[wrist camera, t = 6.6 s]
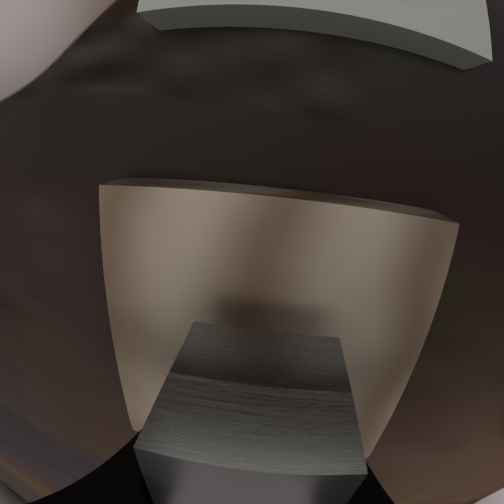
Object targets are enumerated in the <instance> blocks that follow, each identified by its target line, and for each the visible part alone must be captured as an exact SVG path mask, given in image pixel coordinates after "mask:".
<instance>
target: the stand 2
mask: <svg viewBox="0 0 504 504" xmlns="http://www.w3.org/2000/svg"><path fill="white" fill-rule="evenodd" d="M99 204H100V229H101V246H102V259H103V270H104V280H105V289H106V297H107V305H108V312H109V319H110V326H111V332H112V338H113V344H114V350H115V355H116V360H117V365H118V370H119V375H120V380H121V384H122V389H123V393H124V397H125V402H126V406H127V410H128V414H129V417H130V421H131V425H132V429H133V430H135V431H138V432H139V431H140V430H141V429H142V428H143V426H144V423H145V421H146V419H147V417H148V415H149V413H150V411H151V409H152V407H153V404H154V402H155V400H156V398H157V396H158V394H159V392H160V390H161V388H162V386H163V384H164V382H165V379H166V377H167V375H168V373H169V371H170V369H171V367H172V365H173V363H174V361H175V359H176V357H177V355H178V353H179V351H180V349H181V347H182V345H183V342H184V340H185V338H186V336H187V334H188V332H189V330H190V328H191V326H192V324H193V322H201V323H208V324H215V325H222V326H230V327H237V328H245V329H254V330H262V331H271V332H281V333H291V334H302V335H313V336H325V337H339V339H340V343H341V347H342V351H343V356H344V360H345V364H346V368H347V373H348V377H349V381H350V386H351V390H352V395H353V400H354V404H355V409H356V414H357V419H358V423H359V428H360V434H361V439H362V444H363V449H364V455H365V458H368V457H369V455H370V454H371V452H372V450H373V448H374V447H375V445H376V443H377V441H378V440H379V438H380V436H381V434H382V433H383V431H384V429H385V427H386V425H387V423H388V421H389V419H390V418H391V416H392V414H393V412H394V410H395V408H396V406H397V404H398V402H399V400H400V398H401V395H402V393H403V391H404V389H405V387H406V385H407V383H408V380H409V378H410V376H411V374H412V371H413V369H414V367H415V364H416V362H417V360H418V357H419V355H420V352H421V350H422V347H423V345H424V342H425V340H426V337H427V334H428V332H429V329H430V326H431V323H432V320H433V318H434V315H435V312H436V309H437V306H438V303H439V300H440V297H441V293H442V290H443V287H444V283H445V280H446V277H447V273H448V269H449V266H450V262H451V258H452V254H453V250H454V246H455V242H456V238H457V233H458V229H459V223H457V222H456V221H454V220H452V219H450V218H448V217H446V216H444V215H442V214H440V213H438V212H436V211H434V210H430V209H425V208H419V207H414V206H408V205H402V204H396V203H390V202H384V201H377V200H371V199H364V198H357V197H350V196H343V195H336V194H328V193H320V192H312V191H304V190H295V189H286V188H277V187H267V186H256V185H246V184H234V183H222V182H208V181H193V180H177V179H157V178H132V177H127V178H123V179H119V180H115V181H112V182H108V183H104V184H101V185H99Z"/></svg>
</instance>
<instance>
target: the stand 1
mask: <svg viewBox="0 0 504 504" xmlns="http://www.w3.org/2000/svg"><path fill="white" fill-rule="evenodd" d="M137 13H138V14H139V15H141V16H142V17H143V18H145V19H146V20H147V21H148V22H150V23H151V24H152V25H153V26H155V27H156V28H157V29H158V30H169V29H182V28H200V27H257V28H275V29H288V30H298V31H307V32H315V33H322V34H329V35H336V36H342V37H347V38H353V39H358V40H363V41H368V42H372V43H377V44H381V45H385V46H389V47H393V48H397V49H401V50H404V51H408V52H411V53H415V54H418V55H422V56H425V57H428V58H431V59H434V60H437V61H440V62H443V63H446V64H449V65H451V66H454V67H457V68H459V69H462V70H466V69H469V68H472V67H475V66H478V65H481V64H484V63H488V62H491V61H492V48H491V37H490V27H489V19H488V12H487V6H486V0H139V3H138V8H137Z"/></svg>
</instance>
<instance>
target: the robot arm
mask: <svg viewBox="0 0 504 504" xmlns="http://www.w3.org/2000/svg"><path fill="white" fill-rule="evenodd" d="M141 430H142V429H141ZM141 430H140V431H139V432H138V433H137V434H136V435H135V436H134V437H133V438H132V439H131V440H130V441H129V442H128V443H127V444H126V445H125V446H124V447H123V448H121V449H120V450H119V451H118V452H117V453H116V454H114V455H113V456H112V457H111V458H110V459H108V460H107V461H106V462H105V463H103V464H102V465H101V466H99V467H98V468H97V469H95V470H94V471H92V472H91V473H89V474H88V475H86V476H85V477H83V478H81V479H80V480H78V481H76V482H75V483H73V484H71V485H69V486H67V487H66V488H64V489H62V490H60V491H57V492H55V493H53V494H51V495H48V496H46V497H44V498H41V499H39V500H36V501H33V502H30V503H27V504H153V501H152V499H151V496H150V493H149V491H148V488H147V486H146V483H145V480H144V477H143V475H142V472H141V469H140V466H139V463H138V460H137V457H136V454H135V451H134V448H133V447H134V445H135V443H136V440H137V438H138V436H139V434H140V432H141ZM366 466H367V472H368V474H367V476H366V477H365V479H364V480H363V482H362V483H361V484H360V486H359V487H358V489H357V490H356V492H355V493H354V494H353V496H352V497H351V498H350V500H349V501H348V502H347V504H395V503H394V502H393V501H392V500H391V498H390V497H389V496H388V494H387V493H386V491H385V490H384V489H383V487H382V486H381V484H380V483H379V481H378V480H377V478H376V477H375V475H374V474H373V472H372V470H371V469H370V467H369V465H368V464H367V462H366Z"/></svg>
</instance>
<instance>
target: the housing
mask: <svg viewBox="0 0 504 504" xmlns="http://www.w3.org/2000/svg"><path fill="white" fill-rule="evenodd" d="M133 448H134V451H135V454H136V457H137V460H138V463H139V466H140V469H141V472H142V475H143V477H144V480H145V483H146V486H147V488H148V491H149V493H150V496H151V499H152V501H153V504H347V502H348V501H349V500H350V498H351V497H352V496H353V494H354V493H355V492H356V490H357V489H358V487H359V486H360V484H361V483H362V482H363V480H364V479H365V477H366V476H367V474H368V472H367V466H366V460H365V455H364V449H363V444H362V439H361V434H360V428H359V423H358V419H357V414H356V409H355V404H354V400H353V395H352V390H351V386H350V381H349V377H348V373H347V368H346V364H345V360H344V356H343V351H342V347H341V343H340V339H339V337H325V336H313V335H302V334H291V333H281V332H271V331H262V330H254V329H245V328H237V327H230V326H222V325H215V324H208V323H201V322H193V324H192V326H191V328H190V330H189V332H188V334H187V336H186V338H185V340H184V342H183V345H182V347H181V349H180V351H179V353H178V355H177V357H176V359H175V361H174V363H173V365H172V367H171V369H170V371H169V373H168V375H167V377H166V379H165V382H164V384H163V386H162V388H161V390H160V392H159V394H158V396H157V398H156V400H155V402H154V404H153V407H152V409H151V411H150V413H149V415H148V417H147V419H146V421H145V423H144V426H143V428H142V430H141V432H140V434H139V436H138V438H137V440H136V443H135V445H134V447H133Z"/></svg>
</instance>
